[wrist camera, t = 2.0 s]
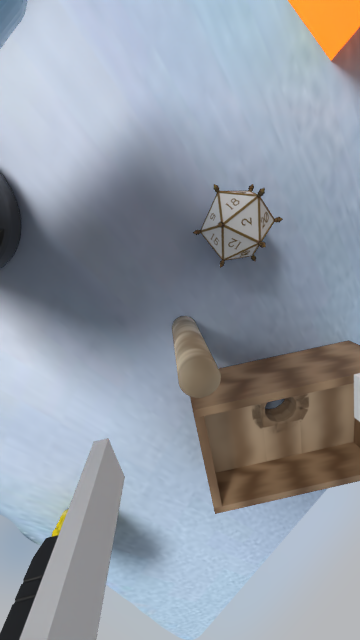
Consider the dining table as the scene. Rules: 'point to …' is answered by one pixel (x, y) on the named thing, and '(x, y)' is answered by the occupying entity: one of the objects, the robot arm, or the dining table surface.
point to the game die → (237, 223)
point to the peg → (193, 360)
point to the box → (281, 427)
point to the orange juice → (329, 21)
